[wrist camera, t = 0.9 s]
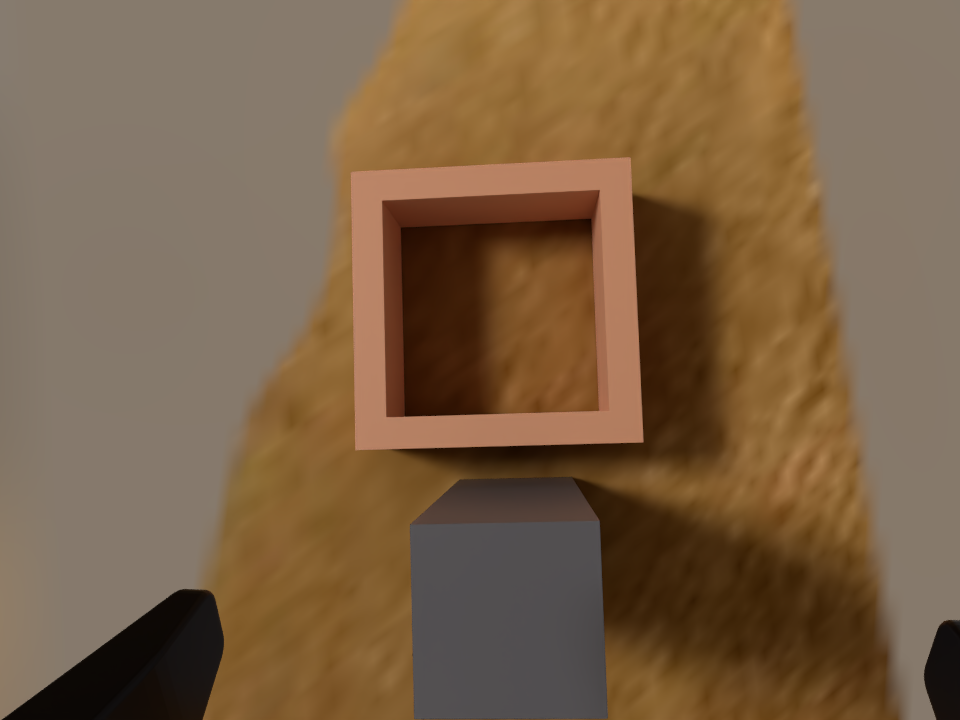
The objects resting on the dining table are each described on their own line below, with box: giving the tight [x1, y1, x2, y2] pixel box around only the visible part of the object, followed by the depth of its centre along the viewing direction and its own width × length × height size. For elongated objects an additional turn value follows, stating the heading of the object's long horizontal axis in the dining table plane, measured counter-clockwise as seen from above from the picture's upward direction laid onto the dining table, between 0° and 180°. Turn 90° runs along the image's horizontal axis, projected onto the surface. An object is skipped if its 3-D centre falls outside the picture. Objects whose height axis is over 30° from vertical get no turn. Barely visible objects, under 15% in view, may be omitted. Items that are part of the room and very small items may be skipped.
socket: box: [351, 157, 643, 450], centre depth 25 cm, size 9×9×4 cm
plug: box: [410, 477, 608, 719], centre depth 21 cm, size 4×4×11 cm
